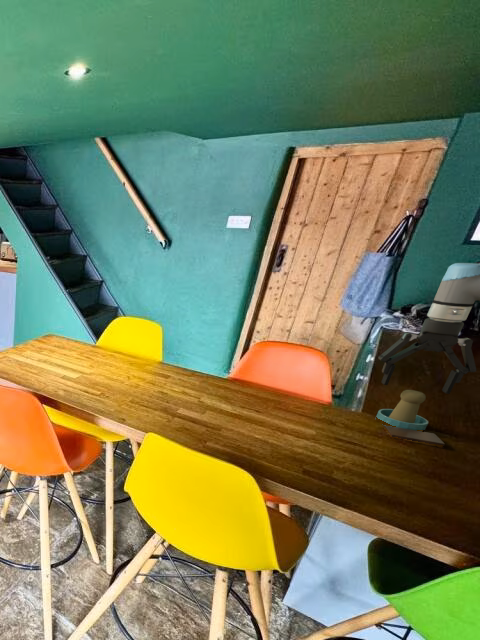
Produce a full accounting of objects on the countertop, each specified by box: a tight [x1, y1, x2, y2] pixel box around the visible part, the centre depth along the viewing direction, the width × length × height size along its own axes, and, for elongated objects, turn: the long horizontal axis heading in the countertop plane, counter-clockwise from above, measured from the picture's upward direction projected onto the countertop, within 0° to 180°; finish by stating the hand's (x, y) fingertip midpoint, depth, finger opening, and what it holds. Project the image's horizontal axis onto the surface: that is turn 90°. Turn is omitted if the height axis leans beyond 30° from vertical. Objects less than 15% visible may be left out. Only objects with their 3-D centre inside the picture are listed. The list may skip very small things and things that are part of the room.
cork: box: [389, 389, 427, 423], centre depth 125 cm, size 6×6×11 cm
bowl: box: [375, 408, 429, 431], centre depth 127 cm, size 11×11×3 cm
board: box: [383, 425, 445, 447], centre depth 119 cm, size 11×7×2 cm, turn 60°
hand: (414, 387), depth 123 cm, fingers open, 13 cm apart
